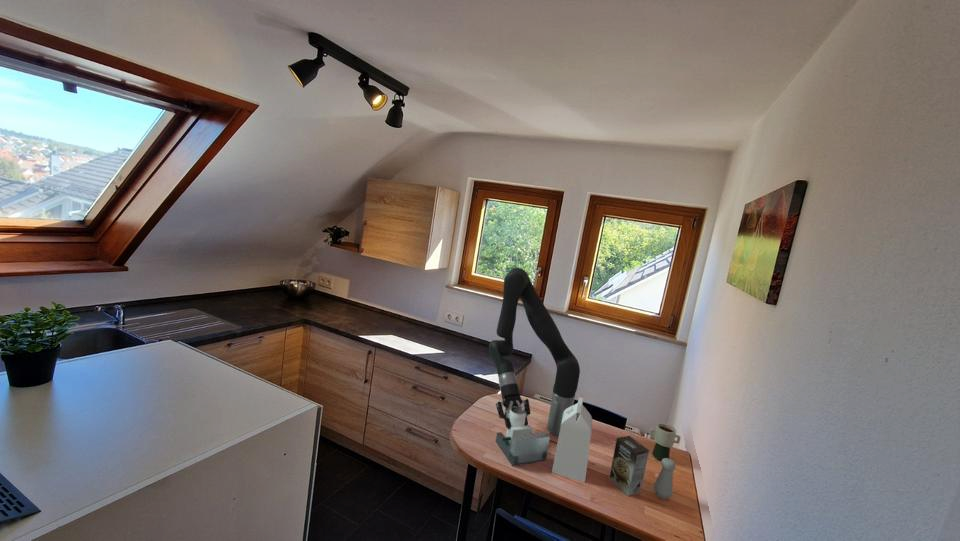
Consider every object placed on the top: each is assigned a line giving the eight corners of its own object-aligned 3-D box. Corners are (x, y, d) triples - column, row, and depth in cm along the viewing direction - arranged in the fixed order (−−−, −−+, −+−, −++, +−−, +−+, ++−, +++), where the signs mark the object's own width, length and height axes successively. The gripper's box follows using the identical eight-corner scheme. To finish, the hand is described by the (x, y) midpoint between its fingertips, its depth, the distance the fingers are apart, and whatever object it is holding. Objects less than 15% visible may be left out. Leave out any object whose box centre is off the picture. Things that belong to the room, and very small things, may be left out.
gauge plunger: (526, 443, 152) (529, 425, 151) (529, 446, 150) (531, 428, 149) (500, 446, 148) (502, 428, 147) (502, 449, 146) (504, 431, 145)
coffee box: (608, 479, 138) (615, 437, 136) (621, 475, 141) (628, 434, 139) (628, 496, 130) (636, 453, 128) (641, 492, 133) (650, 449, 131)
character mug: (674, 457, 156) (680, 427, 154) (676, 467, 150) (682, 436, 148) (645, 448, 160) (651, 419, 158) (645, 458, 154) (651, 427, 152)
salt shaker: (649, 488, 136) (656, 454, 134) (665, 489, 136) (672, 455, 134) (658, 501, 130) (665, 465, 128) (674, 502, 130) (682, 466, 128)
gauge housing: (527, 437, 158) (530, 415, 156) (546, 461, 144) (549, 436, 143) (495, 441, 153) (498, 418, 151) (512, 466, 139) (515, 441, 138)
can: (521, 444, 150) (525, 415, 148) (504, 440, 151) (508, 412, 149) (523, 435, 156) (527, 407, 154) (507, 431, 157) (511, 404, 155)
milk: (584, 482, 135) (597, 412, 131) (551, 472, 138) (562, 404, 134) (586, 462, 146) (597, 398, 142) (555, 453, 150) (565, 390, 146)
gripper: (496, 383, 155) (504, 427, 146) (528, 381, 160) (538, 423, 151) (489, 389, 160) (497, 432, 151) (520, 387, 166) (529, 428, 157)
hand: (517, 427), depth 151 cm, fingers closed on can, 6 cm apart
